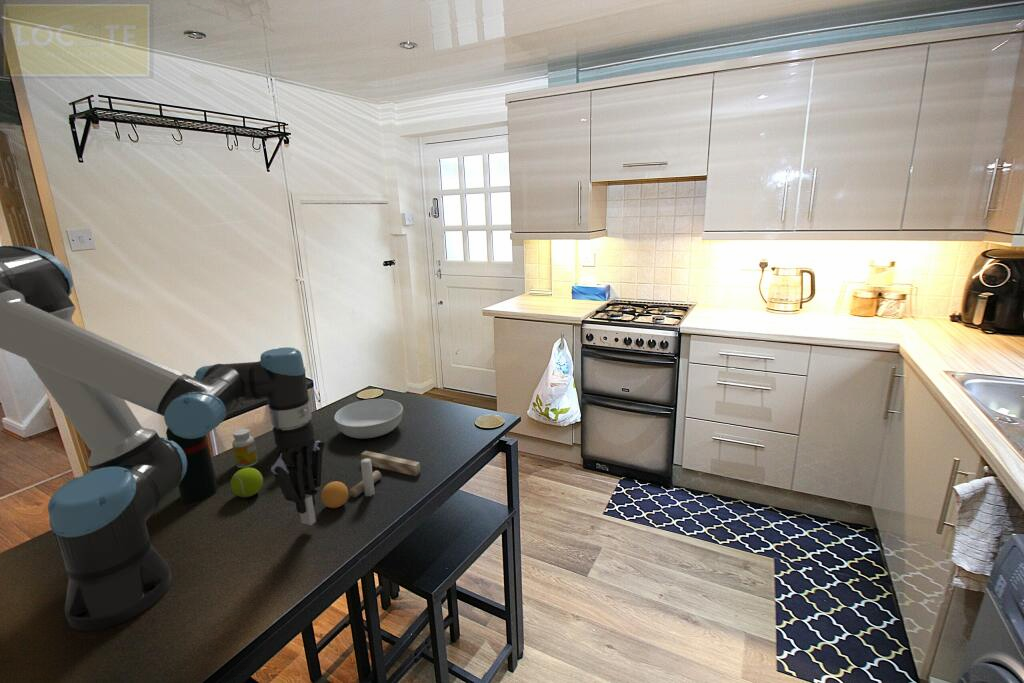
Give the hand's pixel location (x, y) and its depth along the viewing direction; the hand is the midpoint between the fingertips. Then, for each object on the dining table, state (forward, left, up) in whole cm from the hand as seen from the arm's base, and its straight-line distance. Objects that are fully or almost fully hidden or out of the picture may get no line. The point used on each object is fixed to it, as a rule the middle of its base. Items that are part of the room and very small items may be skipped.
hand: (308, 522), depth 105 cm
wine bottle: (-20, +32, -2) cm, 38 cm away
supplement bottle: (-7, +42, -2) cm, 43 cm away
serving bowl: (+28, +40, -2) cm, 49 cm away
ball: (+7, +5, +1) cm, 9 cm away
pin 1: (+15, +5, -2) cm, 16 cm away
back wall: (+24, +14, -2) cm, 28 cm away
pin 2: (+12, +6, -1) cm, 14 cm away
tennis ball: (-9, +24, -2) cm, 26 cm away
